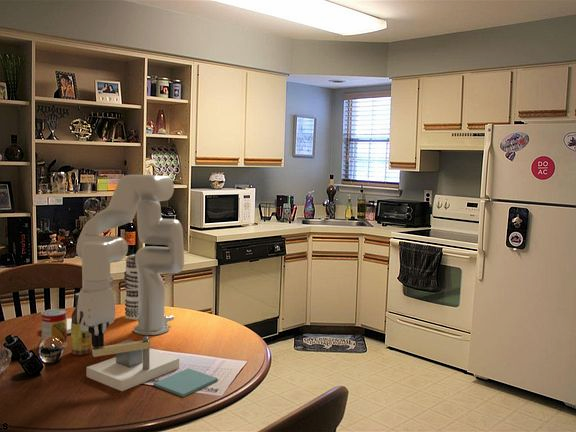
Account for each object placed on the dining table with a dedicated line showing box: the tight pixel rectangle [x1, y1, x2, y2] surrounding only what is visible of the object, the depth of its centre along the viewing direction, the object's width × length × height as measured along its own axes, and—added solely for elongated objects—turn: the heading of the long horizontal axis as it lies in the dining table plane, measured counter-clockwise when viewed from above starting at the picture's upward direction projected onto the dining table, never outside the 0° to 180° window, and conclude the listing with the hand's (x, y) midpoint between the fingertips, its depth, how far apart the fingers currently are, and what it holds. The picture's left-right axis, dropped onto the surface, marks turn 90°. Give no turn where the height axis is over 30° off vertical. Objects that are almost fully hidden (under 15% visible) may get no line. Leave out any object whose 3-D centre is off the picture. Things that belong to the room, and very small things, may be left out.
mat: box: [153, 367, 219, 398], centre depth 164 cm, size 14×12×1 cm
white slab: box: [86, 347, 180, 392], centre depth 171 cm, size 22×16×10 cm
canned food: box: [40, 308, 68, 349], centre depth 190 cm, size 8×8×12 cm
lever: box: [91, 335, 151, 358], centre depth 162 cm, size 2×16×3 cm, turn 120°
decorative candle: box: [123, 253, 138, 320], centre depth 226 cm, size 9×9×25 cm
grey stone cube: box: [115, 339, 142, 368], centre depth 170 cm, size 5×6×6 cm
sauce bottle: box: [70, 292, 92, 356], centre depth 185 cm, size 7×6×20 cm
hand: (97, 346), depth 161 cm, fingers closed
